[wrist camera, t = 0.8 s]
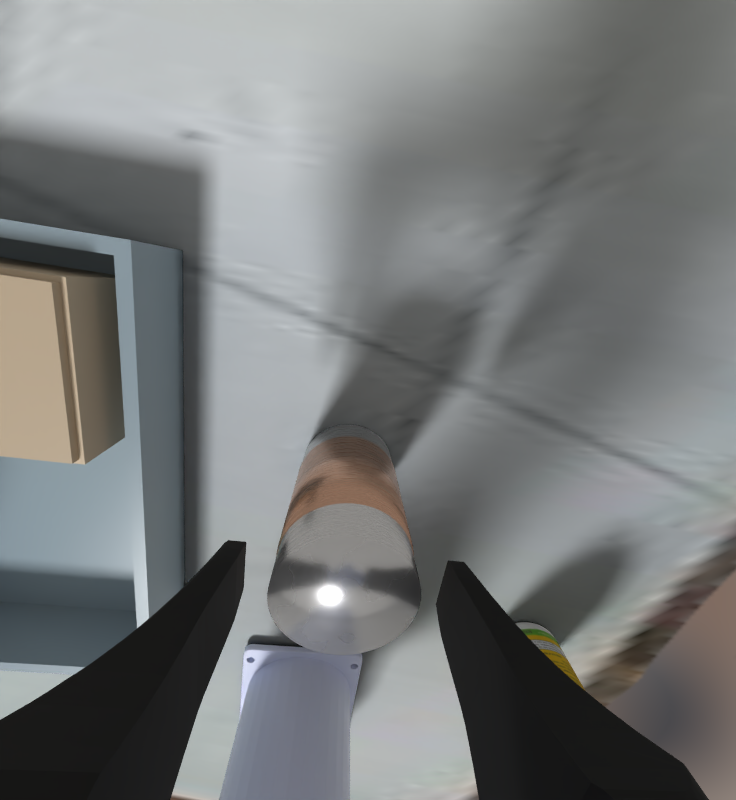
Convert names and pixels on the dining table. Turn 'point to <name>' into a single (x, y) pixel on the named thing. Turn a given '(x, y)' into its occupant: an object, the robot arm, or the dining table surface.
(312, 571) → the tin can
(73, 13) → the dining table surface
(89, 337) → the plain tan box
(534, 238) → the dining table surface
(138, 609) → the tote
